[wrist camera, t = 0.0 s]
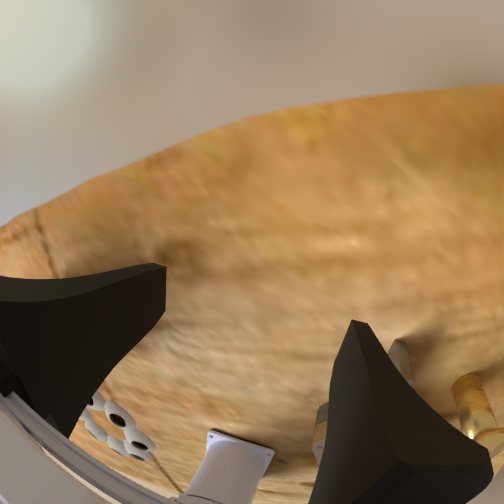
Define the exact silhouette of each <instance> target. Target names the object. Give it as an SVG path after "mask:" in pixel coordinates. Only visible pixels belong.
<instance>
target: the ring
mask: <svg viewBox="0 0 504 504" xmlns="http://www.w3.org/2000/svg"><path fill="white" fill-rule="evenodd" d="M92 399H93V402H94V404H92V403H91V402H90V401H89V403H88V404H87V406H86V408H90V407H91V408H93V409H95V410H99V411H105V413H106V415H107V417H108V419H109V420H110V421H111V422H112V423H113V424H114V425H115V426H117V427H119V428H121V429H124V434H125V437H126V439H125V440H124V443H123V442H122V441H120V440H119V439H117V438H115V437H113V436H110V435H107V433H106V432H105V431H104V430H103V429H102V428H101V427H100V426H99V425H97V424H96V423H95V422H93V421H92V417H91V415H90V413H89V412H88V411H87V409H86V408H85V409H84V411H83V413H82V414H81V416H80V418H79V419H80V420H82V421H85V426H86V429H87V430H88V431H89V432H90V433H91V434H92V435H93V436H94V437H95V438H96V439H97V440H100V441H108V444H109V446H110V448H111V449H112V450H114V451H115V452H117V453H118V454H120V455H122V456H124V457H131V456H132V457H133V458H135V459H138V460H141V461H151V460H153V457H152V455H151V454H150V453H149V452H148V451H153V450H155V449H156V447H155V445H154V443H153V442H152V441H151V439H149V438H148V437H147V436H146V435H145V434H143V433H142V432H140V431H139V430H137V429H135V428H136V424H135V421H134V420H133V418H132V417H131V416H130V415H129V414H128V413H127V412H126V411H125V410H124V409H123V408H121V407H120V406H118V405H116V404H115V403H112V402H108V401H107V402H105V400H104V399H103V397H102V396H101V395H100V394H99V392H98V391H96V392H95V394H94V395H93V397H92ZM110 414H117V415H119V416H121V417H122V418H123V419H124V421H125V423H126V426H123V425H121V424H120V423H118V422H117V421H116V420H115V419H114V418H113V417H112V416H111V415H110ZM134 441H137V442H140V443H142V444H144V445H146V446H147V447H148V449H146V448H143V447H140V446H138V445H137V444H136V443H135V442H134Z"/></svg>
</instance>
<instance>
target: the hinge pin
mask: <svg viewBox="0 0 504 504" xmlns="http://www.w3.org/2000/svg"><path fill="white" fill-rule="evenodd" d="M451 392H452V395H453V399H454V402H455V406H456V409H457V413H458V417H459V420H460V424H461V428H462V433H463V434H464V435H466V436H467V437H469V438H471V439H472V440H474V441H476V442H477V443H479V444H481V445H482V446H484V447H486V448H487V449H488V450H489V455H490V459H491V458H493V457H494V456H496V455H497V454H498V453H500V452H501V451H502V450H503V449H504V428H498V425H497V422H496V419H495V416H494V414H493V411H492V408H491V406H490V403H489V400H488V398H487V395H486V393H485V390H484V388H483V385H482V383H481V380H480V378H479V376H478V375H477V374H475V373H470V374H466V375H464V376H462V377H461V378H459V379H458V380H457V381H456V382H455V383H454V385H453V386H452V390H451Z"/></svg>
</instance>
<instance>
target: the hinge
mask: <svg viewBox="0 0 504 504" xmlns="http://www.w3.org/2000/svg"><path fill="white" fill-rule="evenodd" d="M387 355H388V356H389V358H390V359H391V361H392V362H393V363H394V365H395V366H396V368H397V369H398V370H399V372H400V373H401V374H402V376H403V377H404V378H405V380H406V381H407V382H408V383H409V385H410V386H412V384H413V383H414V377H413V372H412V367H411V363H410V359H409V354H408V350H407V346H406V343H405V342H400V341H395V340H394V342H393V344H392V346H391V348H390V350H389V352H388V354H387ZM328 406H329V402H327V403H325V404H324V405H322V406H320V407H319V410H318V412H317V418H316V423H315V429H314V434H313V439H312V444H311V448H312V451H313V453H314V456H315V458H316V460H317V463H318V465H319V466H320V462H321V458H322V454H323V450H324V445H325V439H326V431H327V419H328Z"/></svg>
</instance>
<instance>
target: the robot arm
mask: <svg viewBox="0 0 504 504" xmlns="http://www.w3.org/2000/svg"><path fill="white" fill-rule="evenodd" d="M166 268H167V267H165V266H161V265H158V264H155V263H148V264H142V265H136V266H131V267H127V268H122V269H118V270H113V271H108V272H103V273H98V274H93V275H87V276H81V277H74V278H63V279H21V278H11V277H4V276H0V504H111V503H110V502H108V501H107V500H105V499H104V498H102V497H101V496H99V495H98V494H96V493H95V492H93V491H92V490H91V489H89V488H88V487H86V486H85V485H84V484H82V483H81V482H80V481H78V480H77V479H75V478H74V477H73V476H72V475H71V474H69V473H68V472H67V471H66V470H65V469H63V468H62V467H61V466H60V465H58V464H57V463H56V462H54V461H53V460H52V459H51V458H50V457H49V456H47V455H46V454H45V452H44V451H43V449H42V448H41V446H42V447H43V448H45V449H46V450H47V451H48V452H49V453H50V454H52V455H53V456H54V457H55V458H56V459H58V460H59V461H60V462H62V463H63V464H64V465H65V466H67V467H68V468H69V469H71V470H72V471H73V472H75V473H76V474H77V475H79V476H80V477H81V478H83V479H84V480H86V481H87V482H89V483H90V484H92V485H93V486H95V487H96V488H98V489H99V490H101V491H102V492H104V493H105V494H107V495H109V496H110V497H112V498H114V499H115V500H117V501H119V502H120V503H122V504H251V503H252V500H253V497H254V495H255V492H256V489H257V487H258V484H259V481H260V480H261V479H262V477H263V475H264V473H265V471H266V469H267V467H268V465H269V464H270V462H271V460H272V458H273V456H274V453H275V451H274V450H273V449H270V448H266V447H262V446H259V445H256V444H252V443H249V442H246V441H243V440H240V439H237V438H234V437H231V436H228V435H225V434H222V433H219V432H216V431H214V430H209V432H208V437H207V446H206V454H205V456H204V458H203V460H202V462H201V464H200V466H199V468H198V469H197V471H196V473H195V475H194V477H193V479H192V481H191V482H190V484H189V486H188V488H187V490H186V491H185V493H184V494H182V493H180V495H179V497H178V499H177V498H175V497H171V498H166V497H164V496H161V495H159V494H157V493H155V492H153V491H151V490H149V489H147V488H145V487H143V486H141V485H139V484H137V483H136V482H134V481H132V480H130V479H128V478H127V477H125V476H123V475H121V474H120V473H118V472H116V471H114V470H113V469H111V468H110V467H108V466H106V465H105V464H103V463H102V462H100V461H99V460H97V459H96V458H94V457H93V456H91V455H90V454H88V453H87V452H85V451H84V450H82V449H81V448H80V447H78V446H77V445H75V444H74V443H73V442H71V441H70V440H69V437H70V435H71V433H72V431H73V429H74V427H75V425H76V423H77V421H78V419H79V418H80V416H81V414H82V413H83V411H84V409H85V408H86V406H87V404H88V403H89V401H90V400H91V398H92V397H93V395H94V394H95V392H96V391H97V389H98V388H99V386H100V385H101V384H102V382H103V381H104V380H105V378H106V377H107V376H108V374H109V373H110V372H111V371H112V369H113V368H114V367H115V366H116V365H117V364H118V362H119V361H120V360H121V359H122V358H123V357H124V356H125V355H126V354H127V353H128V352H129V351H130V350H131V349H132V348H133V347H134V346H135V345H136V344H137V343H138V342H139V341H140V340H141V339H142V338H143V337H144V336H145V335H146V334H147V333H148V332H149V331H150V330H151V329H152V328H153V327H154V326H155V324H156V323H157V322H158V320H159V319H160V318H161V316H162V315H163V313H164V312H165V304H166ZM36 441H37V442H38V443H39V444H40V445H41V446H40V445H39V444H38V443H37V442H36ZM493 475H494V473H493V468H492V463H491V459H490V455H489V450H488V449H487V448H486V447H484V446H482V445H481V444H479V443H477V442H476V441H474V440H472V439H471V438H469V437H467V436H466V435H464V434H463V433H461V432H460V431H459V430H457V429H456V428H455V427H453V426H452V425H451V424H449V423H448V422H447V421H446V420H445V419H443V418H442V417H441V416H440V415H439V414H438V413H436V412H435V411H434V410H433V409H432V408H431V407H430V406H429V405H428V404H427V403H426V402H425V401H424V400H423V399H422V398H421V397H420V396H419V395H418V394H417V393H416V391H415V390H414V389H413V388H412V387H411V386H410V385H409V383H408V382H407V381H406V380H405V378H404V377H403V376H402V374H401V373H400V372H399V370H398V369H397V368H396V366H395V365H394V363H393V362H392V361H391V359H390V358H389V356H388V355H387V353H386V352H385V350H384V348H383V347H382V345H381V344H380V342H379V340H378V339H377V337H376V336H375V334H374V332H373V331H372V329H371V328H370V326H369V325H368V323H364V322H360V321H356V320H351V323H350V325H349V328H348V330H347V333H346V335H345V338H344V340H343V343H342V345H341V348H340V350H339V352H338V355H337V357H336V359H335V362H334V366H333V371H332V377H331V382H330V391H329V406H328V419H327V431H326V439H325V445H324V450H323V454H322V458H321V462H320V466H319V470H318V474H317V477H316V481H315V484H314V488H313V491H312V494H311V497H310V500H309V503H308V504H466V503H467V502H468V501H470V500H471V499H473V498H474V497H476V496H477V495H478V494H479V493H481V492H482V491H483V490H484V489H485V488H486V487H487V486H488V485H489V483H490V482H491V480H492V478H493Z"/></svg>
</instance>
